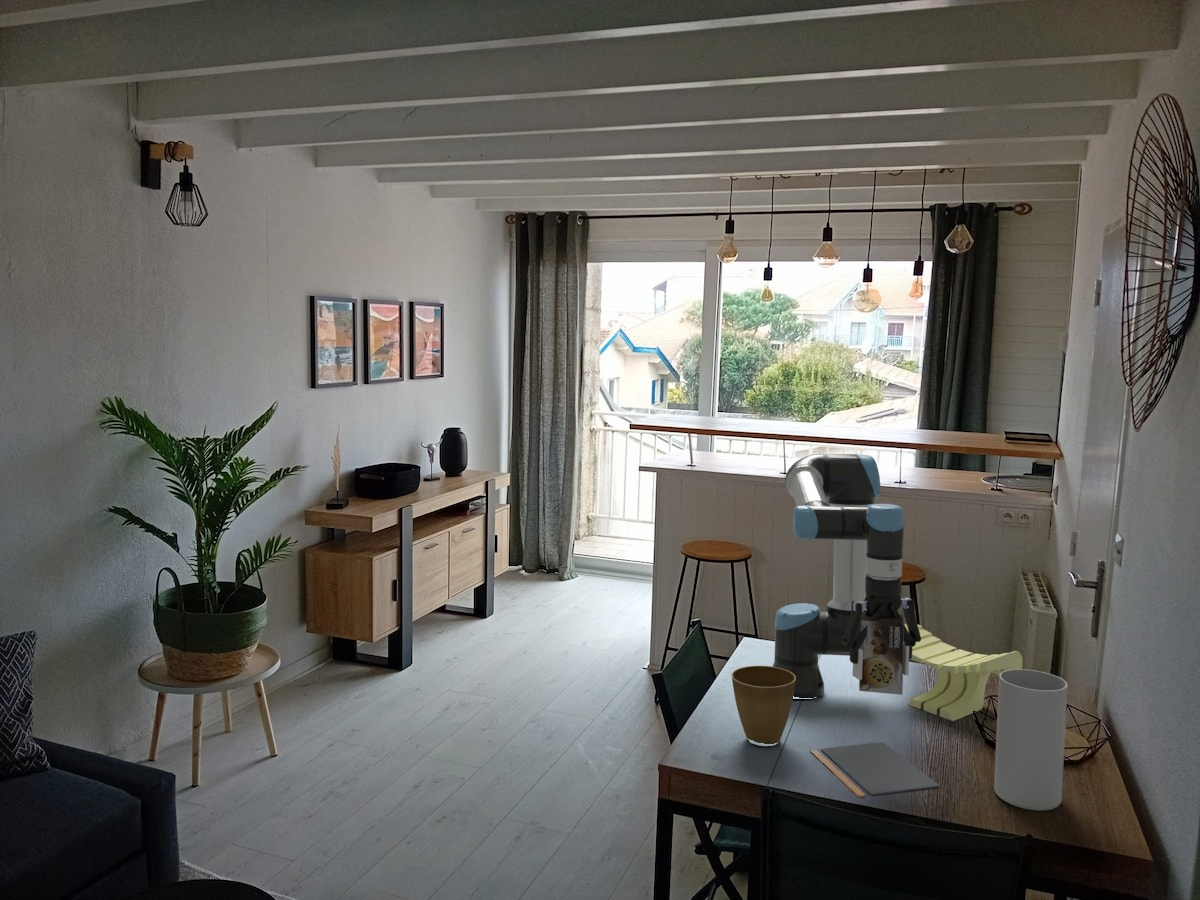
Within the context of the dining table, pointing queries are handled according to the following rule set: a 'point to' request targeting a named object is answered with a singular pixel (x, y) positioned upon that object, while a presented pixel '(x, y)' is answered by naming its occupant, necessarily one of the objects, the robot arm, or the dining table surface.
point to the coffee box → (882, 655)
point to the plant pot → (763, 701)
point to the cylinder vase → (1030, 739)
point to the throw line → (839, 775)
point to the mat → (879, 768)
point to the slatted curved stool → (957, 676)
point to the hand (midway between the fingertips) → (880, 675)
